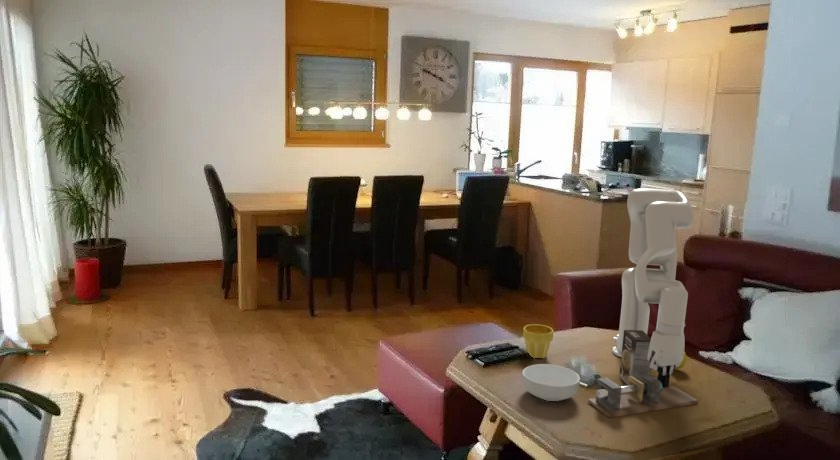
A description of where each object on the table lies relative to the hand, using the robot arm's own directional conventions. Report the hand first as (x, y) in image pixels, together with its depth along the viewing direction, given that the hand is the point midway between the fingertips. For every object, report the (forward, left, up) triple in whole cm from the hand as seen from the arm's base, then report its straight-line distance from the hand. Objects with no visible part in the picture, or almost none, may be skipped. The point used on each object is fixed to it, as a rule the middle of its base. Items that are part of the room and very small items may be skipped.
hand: (662, 385), depth 193 cm
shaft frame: (0, -7, -5) cm, 8 cm away
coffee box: (-13, 0, -5) cm, 14 cm away
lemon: (-17, +21, -5) cm, 28 cm away
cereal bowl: (-12, -32, -5) cm, 34 cm away
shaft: (0, -13, -2) cm, 13 cm away
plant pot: (-41, -19, -5) cm, 45 cm away
